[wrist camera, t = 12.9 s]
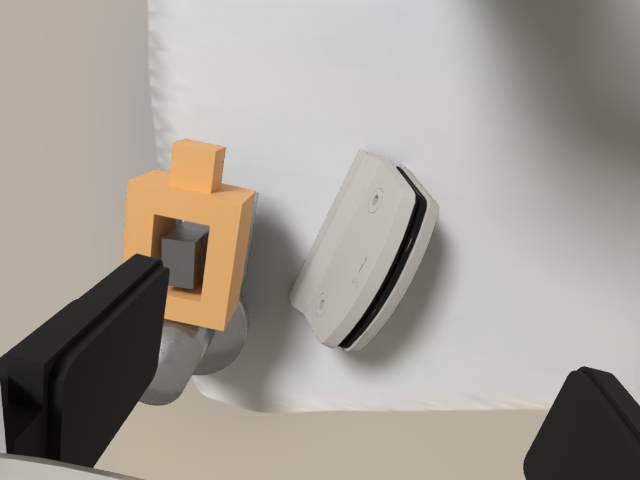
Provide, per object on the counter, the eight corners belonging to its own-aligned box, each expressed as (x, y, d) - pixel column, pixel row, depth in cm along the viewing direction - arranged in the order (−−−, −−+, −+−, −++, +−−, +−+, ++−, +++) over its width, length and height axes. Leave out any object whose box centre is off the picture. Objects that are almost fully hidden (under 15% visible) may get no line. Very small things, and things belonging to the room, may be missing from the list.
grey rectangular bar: (209, 202, 43) (161, 238, 32) (234, 206, 43) (194, 242, 32) (207, 238, 44) (161, 284, 33) (232, 242, 44) (193, 289, 33)
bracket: (238, 304, 38) (223, 331, 34) (146, 285, 38) (119, 309, 34) (261, 152, 34) (248, 161, 30) (158, 130, 34) (130, 136, 30)
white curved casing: (361, 144, 40) (407, 180, 31) (404, 163, 42) (460, 202, 33) (286, 299, 45) (308, 367, 36) (328, 310, 47) (358, 377, 38)
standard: (252, 347, 47) (212, 447, 34) (158, 326, 47) (81, 419, 34) (280, 183, 42) (245, 226, 28) (173, 161, 42) (88, 193, 28)
